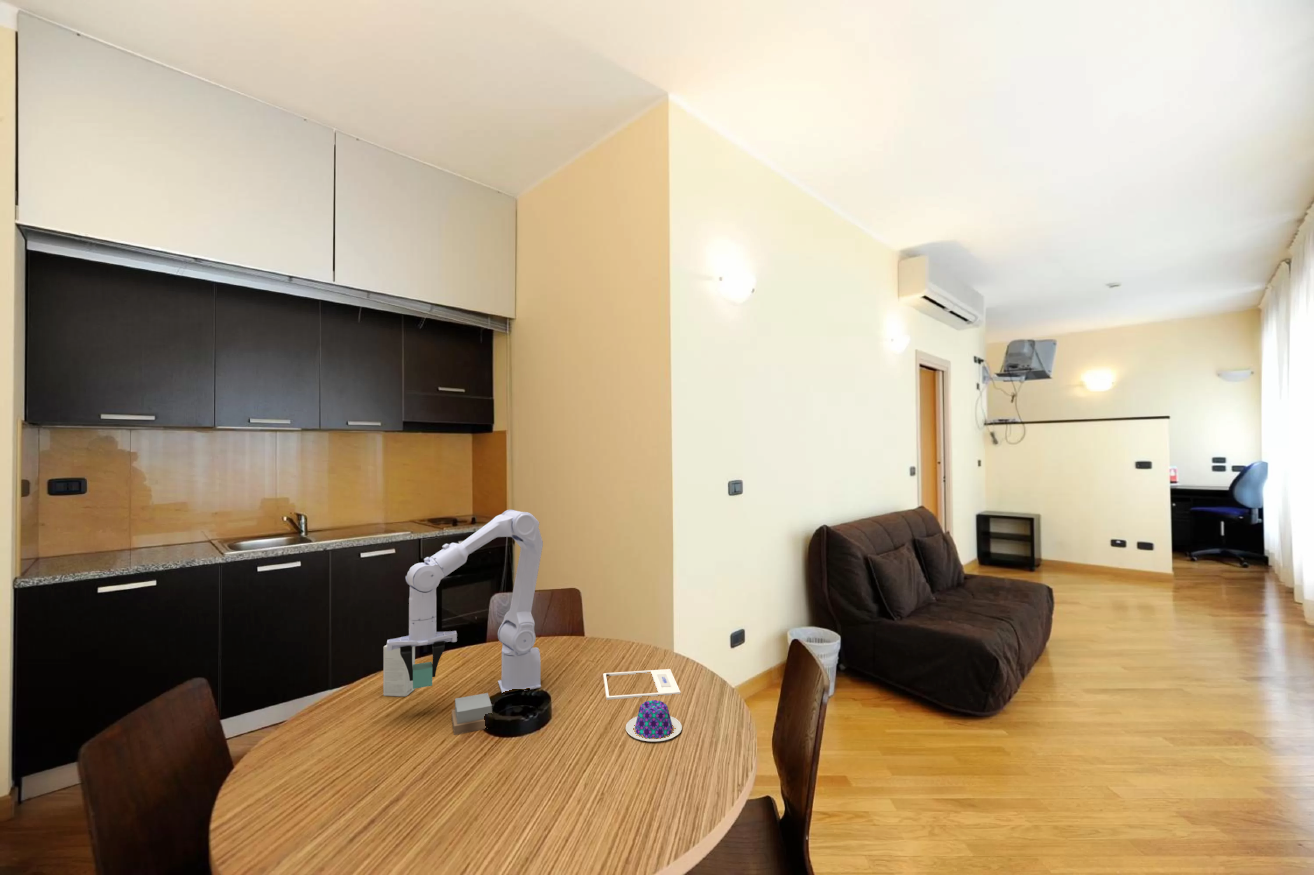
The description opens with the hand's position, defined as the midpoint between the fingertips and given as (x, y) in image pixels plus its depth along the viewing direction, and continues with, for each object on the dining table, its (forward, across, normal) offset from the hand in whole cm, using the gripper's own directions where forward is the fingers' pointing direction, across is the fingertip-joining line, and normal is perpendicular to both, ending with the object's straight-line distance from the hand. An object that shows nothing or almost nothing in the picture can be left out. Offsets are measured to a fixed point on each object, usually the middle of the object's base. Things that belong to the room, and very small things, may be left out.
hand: (422, 677), depth 124 cm
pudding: (+9, +45, -28) cm, 54 cm away
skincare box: (+8, -5, +14) cm, 17 cm away
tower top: (+6, +10, -9) cm, 15 cm away
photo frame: (+9, +51, -6) cm, 52 cm away
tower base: (+9, +10, -9) cm, 16 cm away
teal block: (+2, 0, 0) cm, 2 cm away
